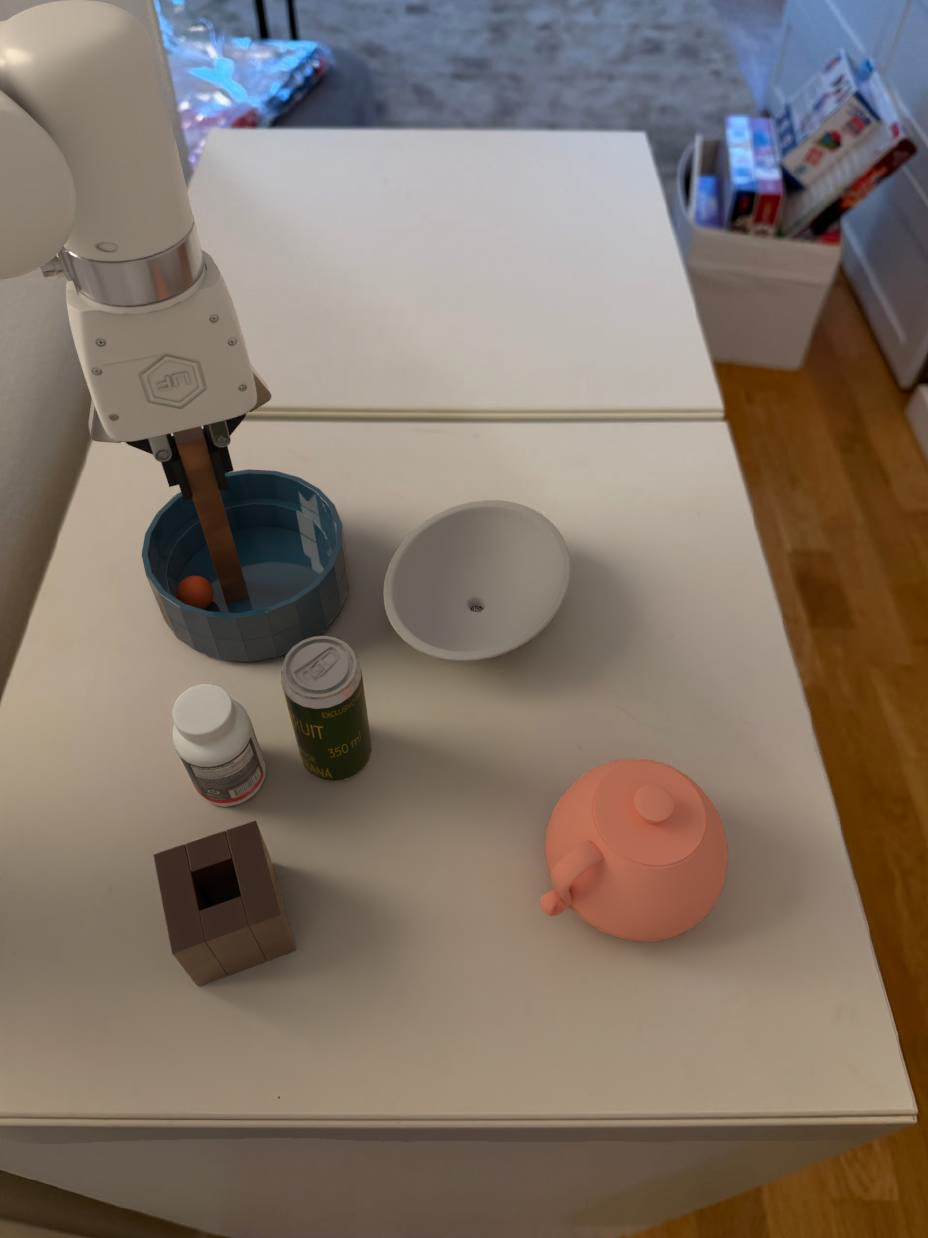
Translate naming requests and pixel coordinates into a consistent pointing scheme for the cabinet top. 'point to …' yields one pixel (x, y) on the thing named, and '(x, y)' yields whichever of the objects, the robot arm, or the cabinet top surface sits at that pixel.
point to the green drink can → (327, 707)
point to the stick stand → (223, 904)
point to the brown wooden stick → (211, 512)
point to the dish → (477, 580)
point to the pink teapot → (635, 851)
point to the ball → (195, 592)
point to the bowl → (253, 567)
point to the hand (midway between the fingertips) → (202, 481)
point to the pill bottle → (217, 745)
